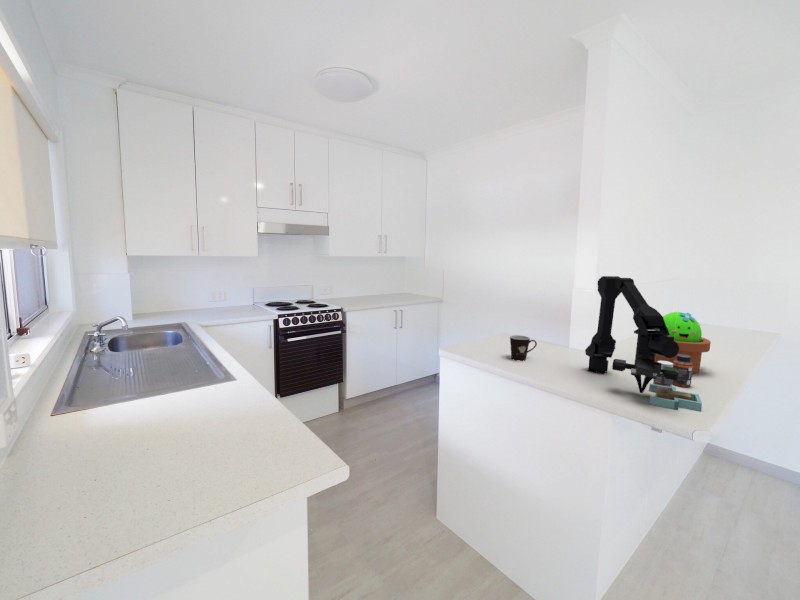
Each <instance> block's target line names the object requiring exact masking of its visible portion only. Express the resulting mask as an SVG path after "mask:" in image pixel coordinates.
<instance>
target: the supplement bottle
mask: <svg viewBox="0 0 800 600" xmlns="http://www.w3.org/2000/svg"><path fill="white" fill-rule="evenodd" d="M690 360H691V357H690V356H688V355H682V354H679V355H677V359H676V360H674V362H673V368H676V369H677V370H678V380H673V383H672V385H675V386H678V387H682V388H689V387H691V386H692V385H691V384H692V377H693V374H692V371H693V363H692V362H691V361H690Z"/></svg>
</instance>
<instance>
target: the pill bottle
mask: <svg viewBox="0 0 800 600" xmlns="http://www.w3.org/2000/svg"><path fill="white" fill-rule="evenodd" d="M658 363H661V369H663V366H666V367H673V363H671V362H668V361H658ZM652 380H653V382H652V384H656V385H662V386H668V387H673V384H672V383H673V380H671V379H666V378H665V377H664V376H663V375H662V374H657V375H656V379H652Z"/></svg>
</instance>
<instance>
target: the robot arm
mask: <svg viewBox="0 0 800 600" xmlns="http://www.w3.org/2000/svg"><path fill="white" fill-rule="evenodd" d="M597 292H598V294H599V296H600V298H601V299H600V306H599V314H598V322H597V329H596V330H597V331H596V333H595V334H594V335H593V336H592V338H591V342H590V344H589V345H588V346H587V347H586V348H585V356H588V357H589V359H588V368H587V371H588V372H591V373H592V372H593V373H599V374H604V375H605V374H606V372H608V370H609V360H608V358H610V359H611V358H612V357H613V355H614V352H615V350H616V343H617V340H616V339H614V337H613V336H612V327H613V321H614V314H615V313H614V312H615V306H616V305H615V304H616V299H617V298H618V297H619V296H620V294H622V295H623V297H624V299H625V300H626V302H627V304H628V305H629V307H630V308H631V310H632V312H633V316H632V319H633V321H634V323H635V326H636V327H637V329H636V330H633V334H636V335H637V338H636V340H637V341H636V347H635V349H636V350H635V358H634V363H628V362H627V360H625V359H620V358H619V359H618V358H614V359H613V360H612V365H611V366H612V367H611V370H613V371H619V372H624V371H625V370H626V369H627V370H630V375H631V376H634V378H635V380H636V383H637V387H638V390H639V393H640V394H644V392H645V390H646V388H647V386H648V385H649V384H650V382H651V381H652V380H654V379H656V375H657V374H662V375H663V376H664V377H665V378H666V379H671V380H678V370H677V369H676V368H673V367H666V366H663V369H661V363H658V362H655V358H656V354H659V355H661V356H664V357H666V358H673V357H675V356H676V355H677V354H678V352H679V346H678V344H677V343H676V342H675V341H674V337H672V336H669V335H670V334H669V332H668V328H667V327H666V324H665V322H664V319H663V316H664V315H662V314H661V313H660V312H659V311H658V310H657V309H656V308H654V307H653V306H650V305H649V303H647V301H646V299H645V298H644V296H643V295H642V294H641V292H640V290H639V289H638V288H637V286H636V284H635V281H634V279H633V278H631V277H620V276H616V275H613V276H612V275H611V276H610V275H609V276H608V275H605V276H604V275H602V276H601V277H600V278H598V280H597ZM642 376H644V377H643V381H642Z"/></svg>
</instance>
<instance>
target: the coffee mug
mask: <svg viewBox="0 0 800 600" xmlns="http://www.w3.org/2000/svg"><path fill="white" fill-rule="evenodd" d="M509 342H510V355H511V356H510V357H511V360H513V359H514V360H513V361H517V360H520V361H519V362H521V361H522V362H524V361H526V360H527V355H528V353H529V352H531V351H532V350H534V349H535V348H537V345H538V343H537V341H536V340H535V339H531V338H530V337H529V336H525V335H521V334H519V335H517V334H514V335H510V336H509ZM532 342H534V346H533V347H532V348H530V349H529V345H530V343H532ZM528 349H529V350H528ZM523 360H524V361H523Z"/></svg>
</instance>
